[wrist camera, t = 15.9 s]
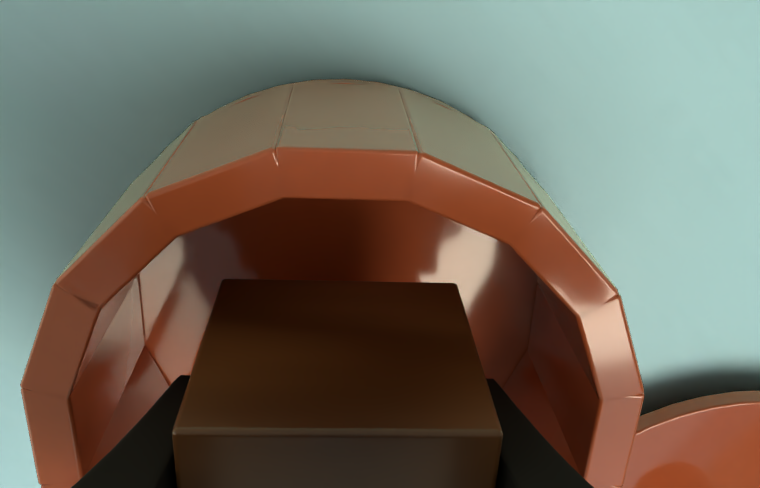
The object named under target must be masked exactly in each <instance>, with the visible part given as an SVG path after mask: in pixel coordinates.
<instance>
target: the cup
mask: <svg viewBox="0 0 760 488" xmlns="http://www.w3.org/2000/svg"><path fill="white" fill-rule="evenodd" d="M223 279H275V280H327V281H378V282H430V283H455V284H457V286H458V289H459V293H460V296H461V299H462V302H463V306H464V309H465V312H466V315H467V319H468V322H469V325H470V328H471V332H472V335H473V338H474V341H475V345H476V348H477V351H478V354H479V358H480V361H481V364H482V367H483V370H484V374H485V377H486V379H494V380H495V381H496V382H497V383H498V384H499V385H500V387H501V388H502V389H503V390H504V391H505V393H506V394H507V395H508V396H509V397H510V399H511V400H512V401H513V402H514V403H515V405H516V406H517V407H518V408H519V409H520V411H521V412H522V413H523V414H524V415H525V416H526V418H527V419H528V420H529V421H530V422H531V423H532V425H533V426H534V427H535V428H536V429H537V430H538V431H539V433H540V434H541V435H542V436H543V437H544V438H545V439H546V440H547V441H548V442H549V443H550V444H551V446H552V447H553V448H554V449H555V450H556V451H557V452H558V453H559V454H560V455H561V456H562V457H563V458H564V459H565V460H566V461H567V462H568V463H569V464H570V465H571V466H572V467H573V468H574V469H575V470H576V471H577V472H578V473H579V474H580V475H581V476H582V477H583V478H584V479H585V480H586V481H587V482H588V483H589V484H591V485H592V486H593V487H594V488H622V486H623V484H624V480H625V476H626V472H627V468H628V463H629V459H630V455H631V451H632V447H633V442H634V438H635V434H636V430H637V426H638V421H639V417H640V413H641V409H642V405H643V400H644V393H643V392H644V386H643V382H642V378H641V374H640V370H639V366H638V362H637V358H636V354H635V350H634V346H633V342H632V338H631V334H630V330H629V326H628V322H627V318H626V314H625V310H624V306H623V302H622V298H621V296H620V294H619V293H618V290H617V288H616V287H615V285H614V284H613V283H612V281H611V280H610V279H609V277H608V276H607V274H606V273H605V272H604V270H603V269H602V268H601V266H600V265H599V264H598V262H597V261H596V259H595V258H594V257H593V255H592V254H591V253H590V251H589V250H588V249H587V247H586V246H585V244H584V243H583V242H582V240H581V239H580V238H579V236H578V235H577V234H576V232H575V231H574V229H573V228H572V227H571V225H570V224H569V223H568V221H567V220H566V219H565V217H564V216H563V214H562V213H561V212H560V210H559V209H558V208H557V206H556V205H555V204H554V202H553V201H552V199H551V198H550V197H549V195H548V194H547V193H546V192H545V191H544V190H543V188H542V187H541V186H540V185H539V184H538V183H537V182H536V180H535V179H534V178H533V177H532V176H531V175H530V174H529V172H528V171H527V170H526V169H525V168H524V167H523V165H522V164H521V163H520V161H519V160H518V159H517V157H516V156H515V155H514V154H513V153H512V152H511V151H510V150H509V149H508V148H507V147H506V146H505V145H504V144H503V143H502V141H501V140H500V139H499V138H498V137H497V136H496V135H495V133H494V132H493V131H491V130H489V129H488V128H487V127H486V126H484V125H482V124H480V123H477V122H476V121H475V120H473V119H472V118H471V117H469V116H467V115H465V114H464V113H462V112H460V111H458V110H456V109H455V108H453V107H451V106H449V105H447V104H445V103H444V102H442V101H439V100H436V99H434V98H431V97H429V96H426V95H423V94H421V93H418V92H416V91H413V90H410V89H406V88H401V87H397V86H393V85H389V84H385V83H380V82H372V81H362V80H352V79H325V80H309V81H302V82H296V83H290V84H284V85H279V86H275V87H272V88H269V89H265V90H262V91H259V92H255V93H252V94H249V95H246V96H244V97H242V98H240V99H238V100H235V101H233V102H231V103H229V104H227V105H224V106H222V107H220V108H218V109H216V110H215V111H213V112H212V113H210V114H208V115H205V116H203V117H200V118H199V119H198V120H196V121H194V122H193V123H192V124H191V125H190V126H189V127H188V128H187V129H186V130H185V131H184V132H183V133H182V134H181V135H180V136H178V137H177V138H176V139H175V140H174V141H173V142H171V143H170V144H169V145H168V146H167V147H166V148H165V149H164V151H163V152H162V153H161V154H160V155H159V156H158V157H157V159H156V160H155V161H154V162H153V163H152V164H151V165H150V166H149V167H148V168H147V169H146V170H145V171H144V172H143V173H142V174H141V175H140V176H139V177H138V178H136V179H135V180H134V181H133V182H132V183H131V185H130V186H129V187H128V188H127V190H126V191H125V192H124V194H123V195H122V196H121V197H120V199H119V200H118V201H117V203H116V204H115V205H114V206H113V208H112V209H111V210H110V211H109V213H108V214H107V215H106V217H105V218H104V219H103V220H102V222H101V223H100V224H99V226H98V227H97V228H96V229H95V231H94V232H93V233H92V235H91V236H90V237H89V238H88V240H87V241H86V242H85V243H84V245H83V246H82V247H81V249H80V250H79V251H78V252H77V254H76V255H75V256H74V258H73V259H72V260H71V261H70V263H69V264H68V265H67V266H66V268H65V269H64V270H63V272H62V273H61V274H60V275H59V277H58V278H57V280H56V281H55V283H54V284H53V285H52V288H51V291H50V294H49V297H48V300H47V303H46V306H45V310H44V313H43V316H42V319H41V322H40V325H39V328H38V331H37V334H36V337H35V340H34V343H33V347H32V350H31V353H30V356H29V359H28V362H27V365H26V368H25V371H24V374H23V377H22V380H21V384H20V386H21V394H22V399H23V404H24V409H25V415H26V420H27V425H28V430H29V436H30V441H31V446H32V451H33V456H34V462H35V467H36V472H37V477H38V483H39V484H40V485H41V488H71V487H72V486H73V485H74V484H76V483H77V482H78V481H79V480H80V479H81V478H82V477H83V476H84V475H85V474H86V473H87V472H89V471H90V470H91V469H92V468H93V467H94V466H95V465H96V464H97V463H98V462H99V461H100V460H101V459H102V458H103V457H104V456H106V455H107V454H108V453H109V452H110V451H111V450H112V449H113V448H114V447H115V446H116V445H117V444H118V442H119V441H120V440H121V439H122V438H123V437H124V436H125V435H126V434H127V433H128V432H129V431H130V430H131V429H132V428H133V427H134V426H135V425H136V424H137V423H138V422H139V420H140V419H141V418H142V417H143V416H144V415H145V414H146V413H147V412H148V410H149V409H150V408H151V407H152V406H153V405H154V404H155V403H156V401H157V400H158V399H159V398H160V397H161V396H162V394H163V393H164V392H165V391H166V390H167V389H168V387H169V386H170V385H171V384H172V383H173V382H174V381H175V380H176V379H177V378H178V377H179V376H180V375H191V372H192V369H193V366H194V363H195V360H196V357H197V354H198V351H199V348H200V345H201V342H202V339H203V336H204V333H205V330H206V327H207V324H208V321H209V318H210V315H211V312H212V309H213V306H214V302H215V299H216V296H217V293H218V290H219V287H220V284H221V282H222V280H223Z"/></svg>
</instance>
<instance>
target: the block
mask: <svg viewBox="0 0 760 488" xmlns="http://www.w3.org/2000/svg"><path fill="white" fill-rule="evenodd" d="M502 439H503V432H502V429H501V426H500V422H499V419H498V416H497V413H496V409H495V406H494V403H493V400H492V396H491V393H490V390H489V387H488V383H487V380H486V377H485V374H484V370H483V367H482V364H481V361H480V358H479V354H478V351H477V348H476V345H475V341H474V338H473V335H472V332H471V328H470V325H469V322H468V319H467V315H466V312H465V309H464V306H463V302H462V299H461V296H460V293H459V289H458V286H457V284H455V283H430V282H378V281H327V280H275V279H223V280H222V282H221V284H220V287H219V290H218V293H217V296H216V299H215V302H214V306H213V309H212V312H211V315H210V318H209V321H208V324H207V327H206V330H205V333H204V336H203V339H202V342H201V345H200V348H199V351H198V354H197V357H196V360H195V363H194V366H193V369H192V372H191V375H190V379H189V382H188V385H187V388H186V391H185V394H184V397H183V400H182V403H181V406H180V409H179V412H178V415H177V418H176V421H175V424H174V427H173V430H172V440H173V451H174V462H175V473H176V484H177V488H496V481H497V474H498V467H499V460H500V453H501V446H502Z"/></svg>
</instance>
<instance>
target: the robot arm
mask: <svg viewBox="0 0 760 488" xmlns="http://www.w3.org/2000/svg"><path fill="white" fill-rule="evenodd" d="M189 379H190V375H180V376H179V377H178V378H177V379H176V380H175V381H174V382H173V383H172V384H171V385H170V386H169V387H168V389H167V390H166V391H165V392H164V393H163V394H162V396H161V397H160V398H159V399H158V400H157V401H156V403H155V404H154V405H153V406H152V407H151V408H150V409H149V410H148V412H147V413H146V414H145V415H144V416H143V417H142V418H141V419H140V420H139V422H138V423H137V424H136V425H135V426H134V427H133V428H132V429H131V430H130V431H129V432H128V433H127V434H126V435H125V436H124V437H123V438H122V439H121V440H120V441H119V442H118V444H117V445H116V446H115V447H114V448H113V449H112V450H111V451H110V452H109V453H108V454H107V455H106V456H104V457H103V458H102V459H101V460H100V461H99V462H98V463H97V464H96V465H95V466H94V467H93V468H92V469H91V470H90V471H89V472H87V473H86V474H85V475H84V476H83V477H82V478H81V479H80V480H79V481H78V482H77V483H76V484H74V485H73V486H72V487H71V488H177V484H176V473H175V462H174V451H173V440H172V430H173V427H174V424H175V421H176V418H177V415H178V412H179V409H180V406H181V403H182V400H183V397H184V394H185V391H186V388H187V385H188V382H189ZM486 380H487V383H488V387H489V390H490V393H491V396H492V400H493V403H494V406H495V409H496V413H497V416H498V419H499V422H500V426H501V429H502V432H503V439H502V446H501V453H500V460H499V467H498V474H497V481H496V488H594V487H593V486H592V485H591V484H589V483H588V482H587V481H586V480H585V479H584V478H583V477H582V476H581V475H580V474H579V473H578V472H577V471H576V470H575V469H574V468H573V467H572V466H571V465H570V464H569V463H568V462H567V461H566V460H565V459H564V458H563V457H562V456H561V455H560V454H559V453H558V452H557V451H556V450H555V449H554V448H553V447H552V446H551V444H550V443H549V442H548V441H547V440H546V439H545V438H544V437H543V436H542V435H541V434H540V433H539V431H538V430H537V429H536V428H535V427H534V426H533V425H532V423H531V422H530V421H529V420H528V419H527V418H526V416H525V415H524V414H523V413H522V412H521V411H520V409H519V408H518V407H517V406H516V405H515V403H514V402H513V401H512V400H511V399H510V397H509V396H508V395H507V394H506V393H505V391H504V390H503V389H502V388H501V387H500V385H499V384H498V383H497V382H496V381H495V380H494V379H486Z"/></svg>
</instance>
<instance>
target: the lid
mask: <svg viewBox="0 0 760 488" xmlns="http://www.w3.org/2000/svg"><path fill="white" fill-rule="evenodd" d="M622 488H760V390H756V391H734V392H726V393H720V394H713V395H707V396H701V397H697V398H693V399H689V400H686V401H682V402H678V403H674V404H671V405H668V406H665V407H663V408H660V409H657V410H654V411H652V412H649V413H646V414H644V415H641V416H640V417H639V421H638V426H637V430H636V434H635V438H634V442H633V447H632V451H631V455H630V459H629V463H628V468H627V472H626V476H625V480H624V484H623V486H622Z"/></svg>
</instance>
